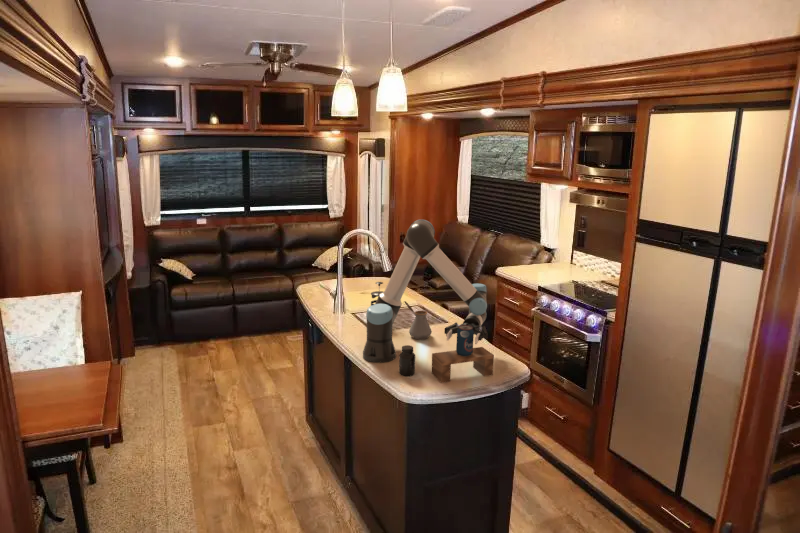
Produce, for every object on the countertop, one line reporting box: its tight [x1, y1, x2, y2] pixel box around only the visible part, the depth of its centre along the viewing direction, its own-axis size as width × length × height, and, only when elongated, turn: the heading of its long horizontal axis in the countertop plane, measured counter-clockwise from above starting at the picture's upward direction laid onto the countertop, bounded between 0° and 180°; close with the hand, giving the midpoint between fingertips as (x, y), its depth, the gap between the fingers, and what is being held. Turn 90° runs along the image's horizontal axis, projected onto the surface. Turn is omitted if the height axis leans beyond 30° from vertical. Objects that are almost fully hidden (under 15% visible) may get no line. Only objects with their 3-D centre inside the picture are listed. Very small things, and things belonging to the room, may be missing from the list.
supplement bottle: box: [398, 344, 416, 378], centre depth 230 cm, size 7×7×12 cm
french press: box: [370, 281, 384, 306], centre depth 294 cm, size 12×9×23 cm
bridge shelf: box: [431, 346, 495, 384], centre depth 231 cm, size 24×10×9 cm, turn 111°
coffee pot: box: [402, 301, 433, 340], centre depth 279 cm, size 21×12×15 cm, turn 32°
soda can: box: [455, 324, 475, 357], centre depth 229 cm, size 7×7×12 cm
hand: (461, 339), depth 225 cm, fingers open, 11 cm apart
